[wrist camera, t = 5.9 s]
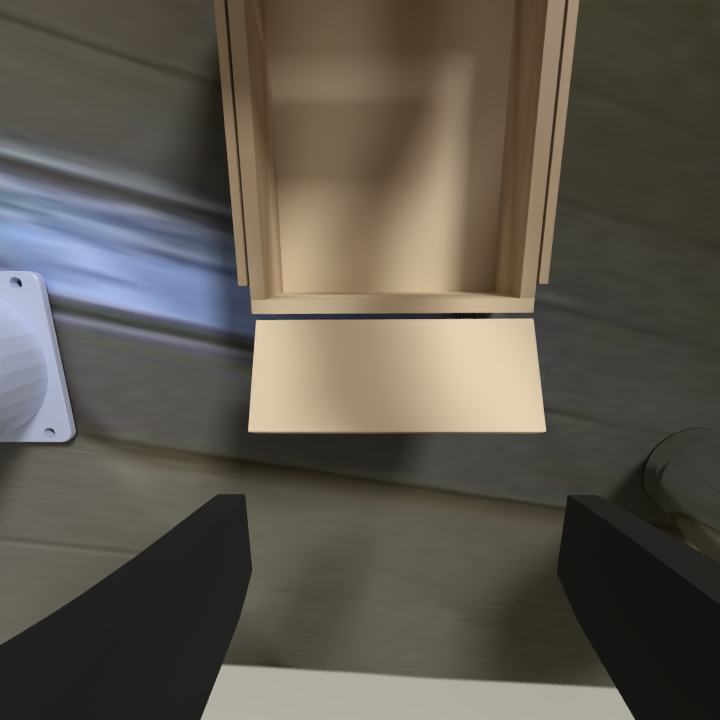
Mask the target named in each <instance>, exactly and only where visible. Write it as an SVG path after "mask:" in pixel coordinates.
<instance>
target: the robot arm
mask: <svg viewBox="0 0 720 720" xmlns="http://www.w3.org/2000/svg"><path fill="white" fill-rule="evenodd" d="M18 279H20V280H21V282H22V287H20V286H19V284H18ZM51 428H52V429H53V430H54V431H55V434H54V433H53V432H52V431H51ZM75 434H76V429H75V424H74V419H73V414H72V410H71V405H70V400H69V395H68V390H67V386H66V381H65V376H64V371H63V366H62V361H61V357H60V352H59V347H58V342H57V337H56V332H55V328H54V323H53V318H52V313H51V308H50V304H49V299H48V294H47V289H46V284H45V281H44V278H43V277H42V276H41V275H40V274H39V273H37V272H34V271H0V442H66V441H68V440H70V439H71V438H73V437H74V436H75ZM251 573H252V563H251V553H250V542H249V531H248V521H247V510H246V499H245V494H218V495H217V496H215V497H214V498H212V499H211V500H209V501H208V502H207V503H205V504H204V505H203V506H201V507H200V508H199V509H197V510H196V511H195V512H194V513H192V514H191V515H190V516H188V517H187V518H186V519H185V520H183V521H182V522H181V523H179V524H178V525H177V526H175V527H174V528H173V529H172V530H170V531H169V532H168V533H166V534H165V535H164V536H162V537H161V538H160V539H158V540H157V541H156V542H154V543H153V544H152V545H150V546H149V547H148V548H147V549H145V550H144V551H143V552H141V553H140V554H139V555H137V556H136V557H134V558H133V559H131V560H130V561H129V562H127V563H126V564H124V565H123V566H122V567H120V568H119V569H117V570H116V571H114V572H113V573H112V574H110V575H109V576H107V577H106V578H104V579H103V580H102V581H100V582H99V583H97V584H96V585H95V586H93V587H92V588H90V589H89V590H87V591H86V592H85V593H83V594H82V595H80V596H79V597H77V598H76V599H74V600H73V601H71V602H69V603H68V604H66V605H65V606H63V607H62V608H60V609H59V610H57V611H55V612H54V613H52V614H51V615H49V616H48V617H46V618H44V619H43V620H41V621H39V622H38V623H36V624H35V625H33V626H31V627H30V628H28V629H26V630H25V631H23V632H21V633H20V634H18V635H17V636H15V637H13V638H12V639H10V640H8V641H7V642H5V643H3V644H2V645H0V720H200V719H201V717H202V714H203V712H204V709H205V707H206V704H207V701H208V699H209V696H210V694H211V691H212V689H213V686H214V683H215V681H216V678H217V676H218V673H219V671H220V668H221V665H222V663H223V660H224V658H225V655H226V653H227V650H228V647H229V645H230V642H231V639H232V637H233V634H234V632H235V629H236V626H237V624H238V621H239V618H240V615H241V611H242V607H243V604H244V600H245V597H246V593H247V589H248V585H249V581H250V577H251ZM557 574H558V576H559V579H560V581H561V584H562V586H563V588H564V591H565V593H566V595H567V598H568V600H569V602H570V604H571V607H572V609H573V611H574V613H575V615H576V617H577V620H578V622H579V624H580V625H581V627H582V629H583V631H584V632H585V634H586V636H587V638H588V639H589V641H590V643H591V645H592V646H593V648H594V650H595V652H596V653H597V655H598V657H599V659H600V660H601V662H602V664H603V665H604V667H605V669H606V671H607V672H608V674H609V676H610V677H611V679H612V681H613V682H614V684H615V686H616V688H617V689H618V691H619V693H620V694H621V696H622V698H623V699H624V701H625V703H626V705H627V706H628V708H629V710H630V711H631V713H632V715H633V717H634V718H635V720H720V563H719V562H717V561H715V560H713V559H712V558H710V557H708V556H706V555H704V554H703V553H701V552H699V551H697V550H695V549H694V548H692V547H690V546H688V545H686V544H685V543H683V542H681V541H679V540H678V539H676V538H674V537H672V536H670V535H669V534H667V533H665V532H663V531H662V530H660V529H658V528H656V527H654V526H653V525H651V524H649V523H647V522H646V521H644V520H642V519H640V518H639V517H637V516H635V515H633V514H631V513H629V512H628V511H626V510H624V509H622V508H620V507H618V506H617V505H615V504H613V503H611V502H609V501H607V500H605V499H603V498H600V497H598V496H596V495H568V497H567V504H566V511H565V518H564V525H563V532H562V539H561V546H560V553H559V560H558V567H557Z"/></svg>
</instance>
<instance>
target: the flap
mask: <svg viewBox="0 0 720 720" xmlns="http://www.w3.org/2000/svg"><path fill="white" fill-rule="evenodd" d="M248 432H252V433H493V434H535V433H542V432H546V426H545V417H544V408H543V400H542V391H541V382H540V373H539V365H538V356H537V347H536V338H535V329H534V321H533V319H384V320H256V329H255V343H254V357H253V371H252V385H251V399H250V412H249V426H248Z"/></svg>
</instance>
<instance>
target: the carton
mask: <svg viewBox="0 0 720 720" xmlns="http://www.w3.org/2000/svg"><path fill="white" fill-rule="evenodd" d="M214 6H215V17H216V29H217V41H218V53H219V64H220V76H221V88H222V99H223V111H224V123H225V135H226V146H227V158H228V170H229V181H230V193H231V205H232V217H233V228H234V240H235V252H236V263H237V275H238V286H248V285H250V296H251V309H252V314H355V313H530V312H533V309H534V299H535V290H536V283H538V284H548V277H549V268H550V259H551V250H552V241H553V232H554V223H555V214H556V205H557V196H558V186H559V177H560V168H561V159H562V150H563V141H564V132H565V123H566V114H567V105H568V96H569V87H570V78H571V69H572V60H573V51H574V42H575V33H576V24H577V15H578V6H579V0H214Z"/></svg>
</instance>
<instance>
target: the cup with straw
mask: <svg viewBox="0 0 720 720" xmlns="http://www.w3.org/2000/svg"><path fill="white" fill-rule="evenodd" d="M643 481H644V487H645V489H646V492H647V494H648V495H649V497H650V498H651V499H652V500H653V501H654V502H655V503H656V504H658V505H659V506H661V508H662V510H663V511H664V513H665V514H666V515H667V517H668V518H669V519H670V520H671V521H672V522H673V523H674V524H675V525H676V527H677V528H678V529H679V530H680V531H681V532H682V533H683V534H684V535H685V536H686V537H687V538H688V540H689V541H690V542H691V543H692V544H693V545H694V546H695V547H696V548H697V549H698V550H699V551H700V552H701V553H703V554H704V555H706V556H708V557H710V558H712V559H713V560H715V561H717V562H719V563H720V432H719V431H716V430H713V429H708V428H694V429H688V430H685V431H681V432H679V433H676V434H674V435H672V436H670V437H669V438H667V439H666V440H664V441H663V442H662V443H661V444H660V445H659V446H657V447H656V449H655V450H654V451H653V452H652V454H651V455H650V457H649V459H648V461H647V462H646V465H645V469H644V475H643Z"/></svg>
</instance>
